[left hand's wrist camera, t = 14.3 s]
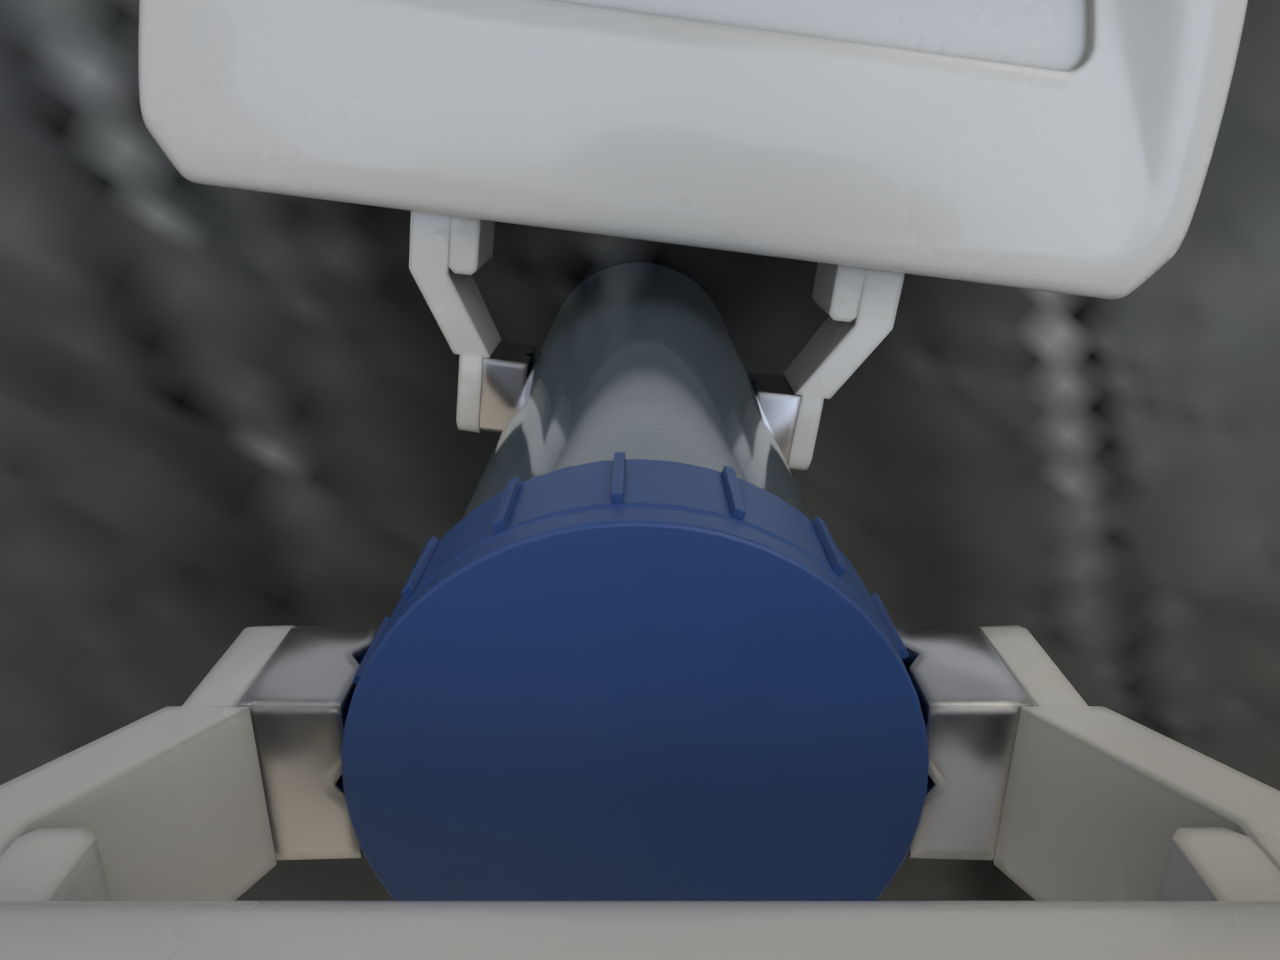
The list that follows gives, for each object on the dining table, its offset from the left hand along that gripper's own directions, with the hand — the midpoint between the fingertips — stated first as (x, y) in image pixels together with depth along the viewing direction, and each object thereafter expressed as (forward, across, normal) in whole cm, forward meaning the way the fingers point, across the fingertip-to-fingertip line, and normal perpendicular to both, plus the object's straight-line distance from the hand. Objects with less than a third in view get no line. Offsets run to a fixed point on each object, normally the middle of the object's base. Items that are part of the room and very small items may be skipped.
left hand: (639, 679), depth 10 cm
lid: (-2, 0, 0) cm, 2 cm away
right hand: (+11, 0, -1) cm, 11 cm away
